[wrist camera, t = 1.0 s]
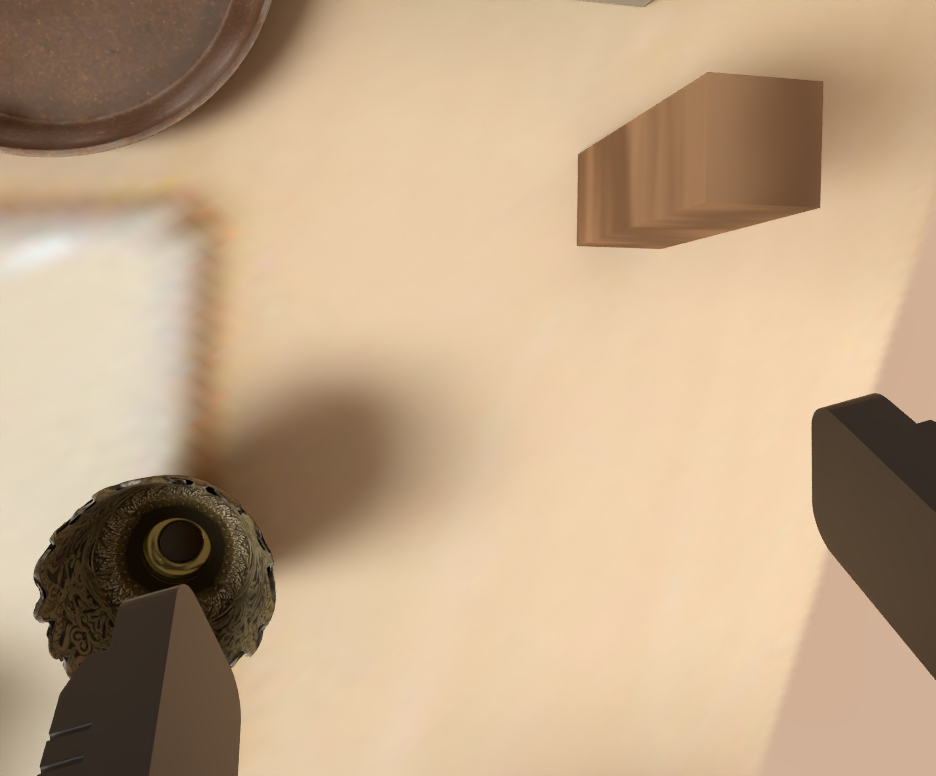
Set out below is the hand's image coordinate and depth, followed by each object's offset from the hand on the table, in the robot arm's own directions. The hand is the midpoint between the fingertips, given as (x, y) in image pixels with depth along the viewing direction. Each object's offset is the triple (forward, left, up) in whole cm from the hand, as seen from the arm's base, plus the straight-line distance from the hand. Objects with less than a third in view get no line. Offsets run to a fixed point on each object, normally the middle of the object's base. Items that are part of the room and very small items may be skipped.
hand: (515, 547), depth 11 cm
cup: (-3, -8, -27) cm, 29 cm away
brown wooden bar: (+6, +14, -27) cm, 31 cm away
